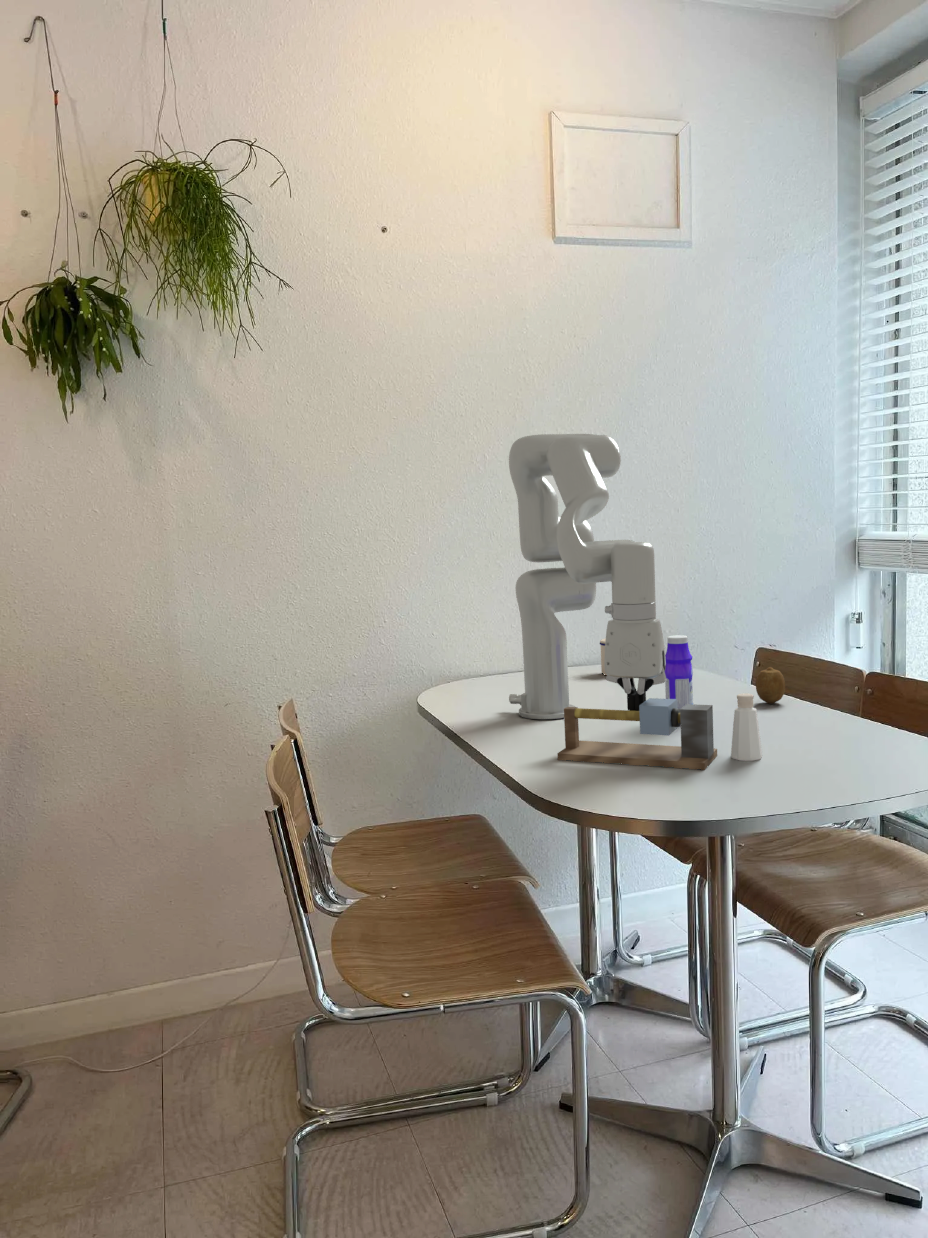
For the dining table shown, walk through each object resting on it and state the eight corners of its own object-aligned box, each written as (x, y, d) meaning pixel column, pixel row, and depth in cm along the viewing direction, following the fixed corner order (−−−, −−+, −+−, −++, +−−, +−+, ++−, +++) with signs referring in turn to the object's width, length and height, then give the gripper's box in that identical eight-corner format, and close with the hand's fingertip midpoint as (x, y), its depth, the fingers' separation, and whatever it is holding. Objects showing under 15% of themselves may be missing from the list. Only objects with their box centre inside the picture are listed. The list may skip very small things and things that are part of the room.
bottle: (694, 724, 196) (692, 638, 194) (665, 724, 197) (663, 638, 195) (693, 716, 203) (691, 633, 201) (665, 716, 204) (663, 634, 202)
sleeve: (640, 733, 168) (639, 705, 167) (650, 725, 174) (649, 698, 173) (668, 735, 166) (668, 706, 165) (678, 727, 171) (677, 699, 171)
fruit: (782, 700, 214) (781, 664, 213) (788, 706, 208) (788, 668, 207) (753, 701, 215) (752, 665, 214) (758, 706, 209) (758, 670, 208)
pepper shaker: (727, 754, 171) (725, 692, 170) (758, 752, 171) (756, 691, 170) (734, 762, 166) (733, 698, 165) (766, 760, 166) (765, 696, 165)
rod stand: (557, 759, 174) (555, 707, 172) (576, 746, 182) (574, 696, 181) (704, 770, 162) (703, 713, 161) (717, 755, 171) (715, 702, 170)
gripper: (586, 614, 172) (590, 717, 174) (670, 615, 165) (672, 722, 167) (600, 609, 178) (603, 708, 181) (681, 610, 172) (683, 712, 174)
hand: (637, 714), depth 174 cm, fingers closed
